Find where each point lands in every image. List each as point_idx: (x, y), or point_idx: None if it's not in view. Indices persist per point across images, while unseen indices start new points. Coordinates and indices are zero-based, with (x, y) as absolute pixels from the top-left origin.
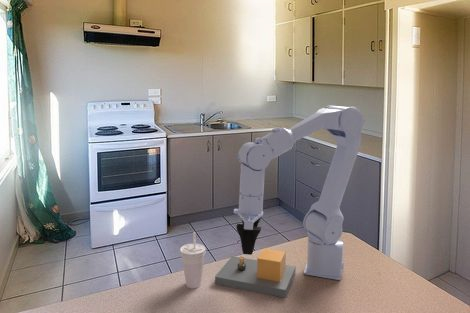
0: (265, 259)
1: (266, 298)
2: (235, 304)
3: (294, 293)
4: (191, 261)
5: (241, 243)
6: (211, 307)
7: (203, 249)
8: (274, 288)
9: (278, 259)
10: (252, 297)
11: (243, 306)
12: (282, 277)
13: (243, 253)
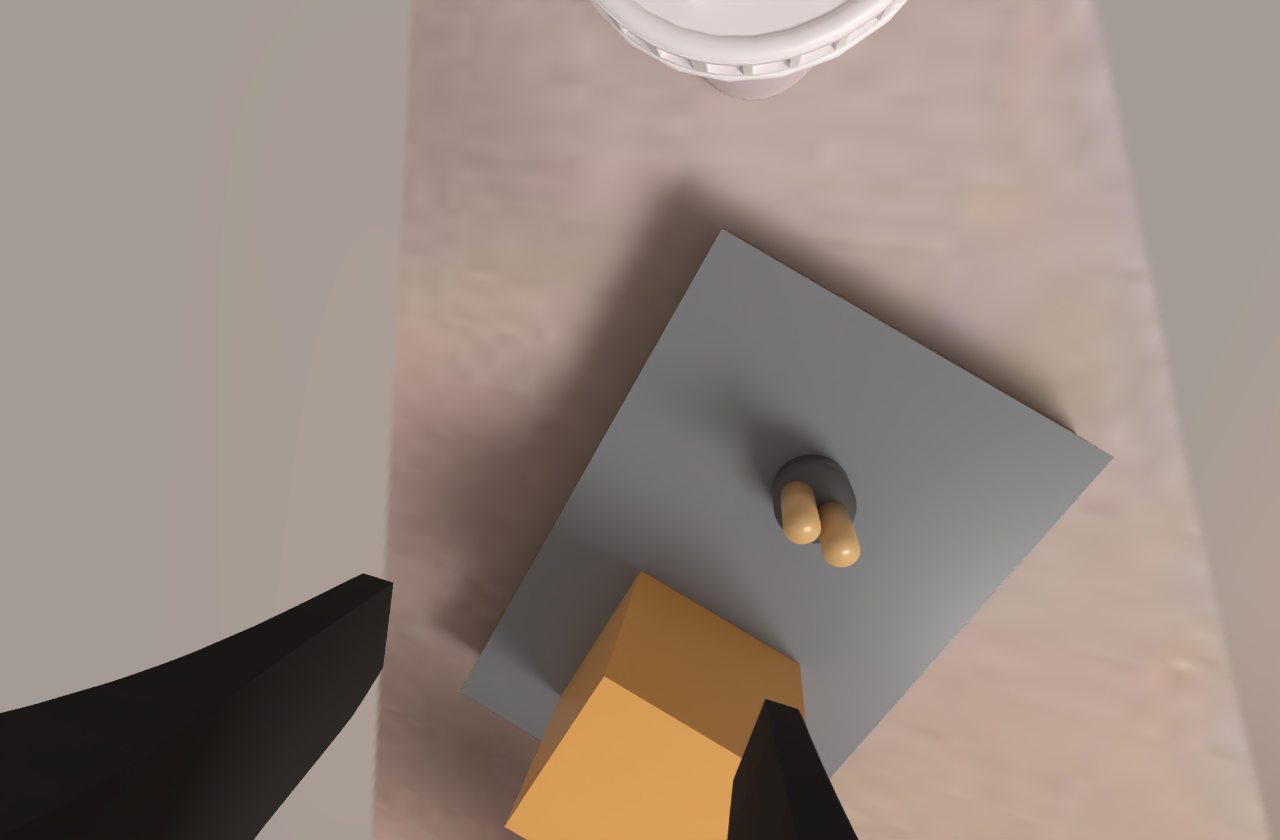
0: (569, 735)
1: (486, 552)
2: (438, 345)
3: None
4: None
5: (230, 638)
6: (415, 170)
7: (697, 27)
8: (491, 635)
9: (551, 831)
10: (506, 472)
11: (413, 392)
12: None
13: (350, 579)
